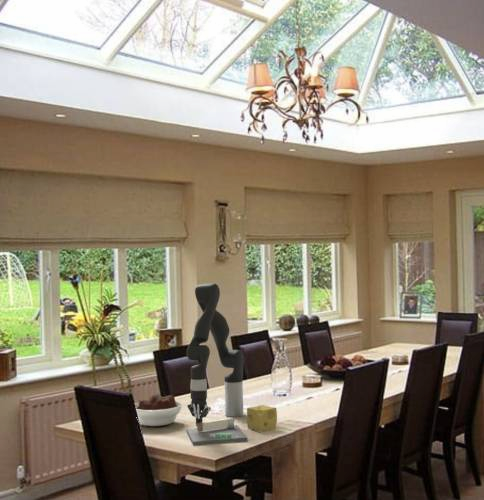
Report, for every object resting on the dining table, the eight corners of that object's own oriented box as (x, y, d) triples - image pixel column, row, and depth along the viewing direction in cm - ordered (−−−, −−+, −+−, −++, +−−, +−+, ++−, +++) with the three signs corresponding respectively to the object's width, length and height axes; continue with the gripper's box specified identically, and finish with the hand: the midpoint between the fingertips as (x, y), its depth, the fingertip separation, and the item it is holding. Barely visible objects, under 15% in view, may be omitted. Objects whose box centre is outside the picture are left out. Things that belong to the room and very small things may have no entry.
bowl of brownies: (125, 422, 357) (124, 392, 357) (173, 416, 367) (172, 387, 367) (139, 433, 334) (138, 400, 334) (189, 426, 345) (189, 395, 345)
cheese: (260, 432, 329) (259, 410, 329) (246, 428, 338) (245, 407, 338) (277, 428, 335) (277, 407, 335) (263, 424, 344) (262, 404, 344)
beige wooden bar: (231, 425, 336) (231, 417, 336) (235, 427, 333) (235, 418, 333) (196, 431, 327) (196, 422, 327) (199, 433, 324) (199, 424, 324)
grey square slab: (186, 432, 334) (186, 425, 334) (237, 428, 338) (237, 421, 338) (193, 445, 310) (193, 438, 310) (247, 440, 315) (247, 433, 315)
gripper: (182, 388, 330) (183, 426, 330) (203, 391, 322) (204, 430, 322) (193, 385, 336) (194, 423, 336) (214, 388, 328) (215, 426, 327)
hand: (199, 426), depth 329 cm, fingers closed
